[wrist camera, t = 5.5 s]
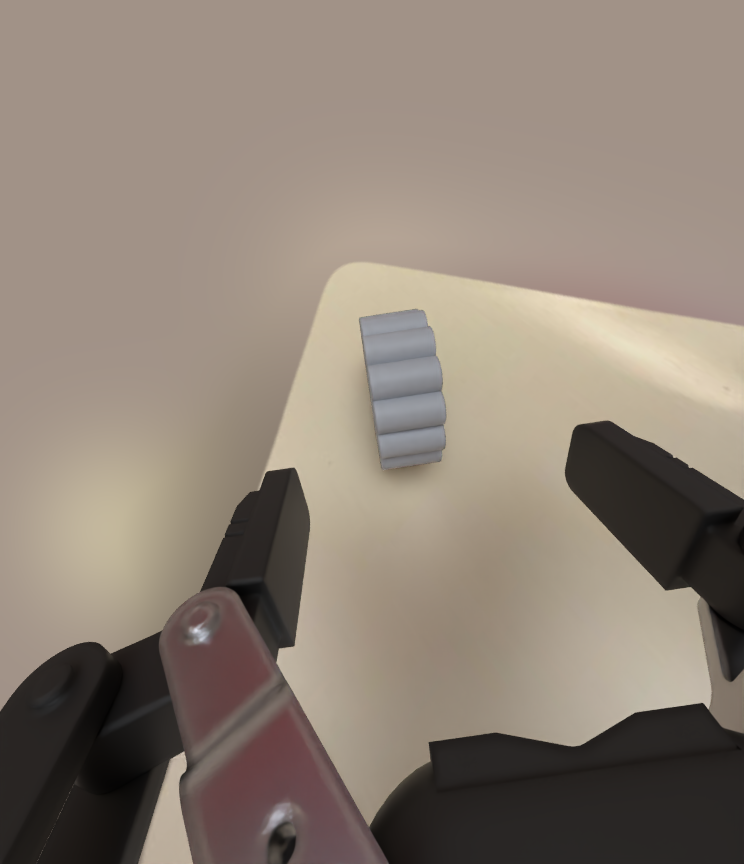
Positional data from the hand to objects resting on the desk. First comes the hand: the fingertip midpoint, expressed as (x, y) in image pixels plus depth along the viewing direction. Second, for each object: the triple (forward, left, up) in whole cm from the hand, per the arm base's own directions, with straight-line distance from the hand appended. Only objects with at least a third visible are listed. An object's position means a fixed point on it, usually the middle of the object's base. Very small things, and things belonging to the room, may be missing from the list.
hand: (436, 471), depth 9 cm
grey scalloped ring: (+3, +5, -11) cm, 12 cm away
